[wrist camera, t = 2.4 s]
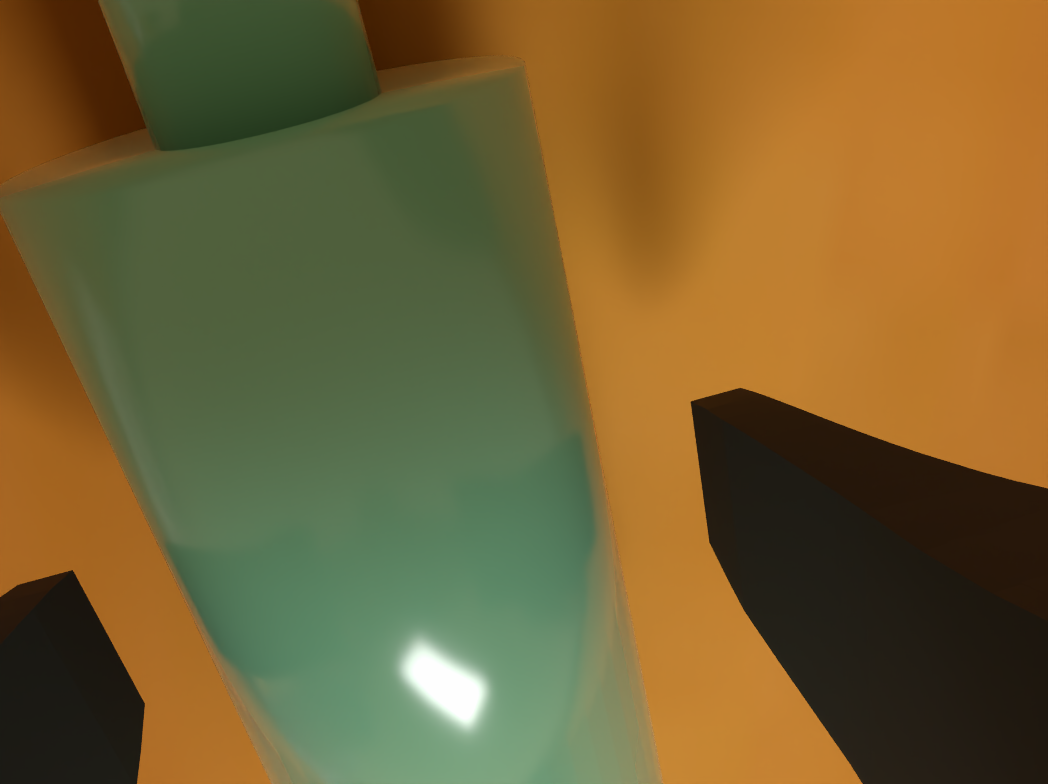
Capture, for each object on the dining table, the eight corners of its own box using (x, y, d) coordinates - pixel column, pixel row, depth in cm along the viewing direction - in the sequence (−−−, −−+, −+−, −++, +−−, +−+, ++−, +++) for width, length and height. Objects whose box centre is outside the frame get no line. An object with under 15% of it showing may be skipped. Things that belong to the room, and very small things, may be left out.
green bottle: (613, 650, 15) (719, 924, 11) (329, 732, 15) (319, 1048, 11) (412, -315, 9) (465, -588, 5) (-67, -217, 9) (-478, -412, 5)
